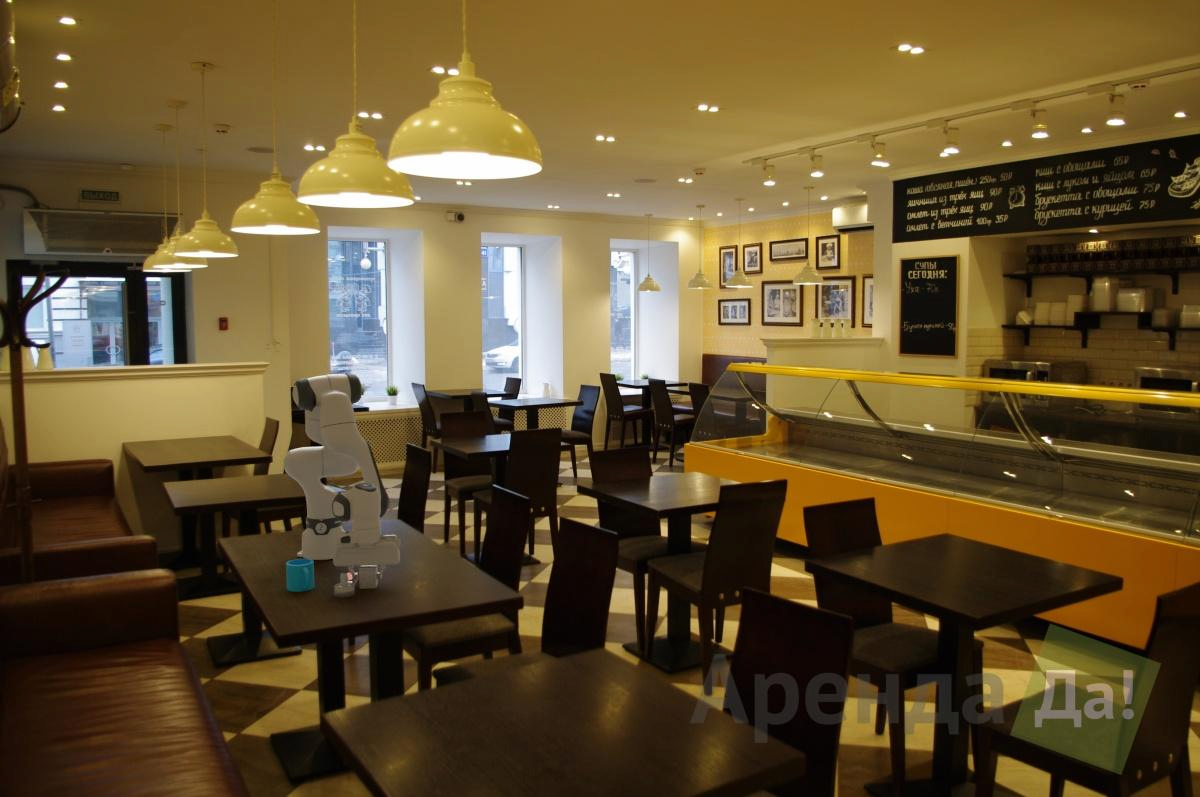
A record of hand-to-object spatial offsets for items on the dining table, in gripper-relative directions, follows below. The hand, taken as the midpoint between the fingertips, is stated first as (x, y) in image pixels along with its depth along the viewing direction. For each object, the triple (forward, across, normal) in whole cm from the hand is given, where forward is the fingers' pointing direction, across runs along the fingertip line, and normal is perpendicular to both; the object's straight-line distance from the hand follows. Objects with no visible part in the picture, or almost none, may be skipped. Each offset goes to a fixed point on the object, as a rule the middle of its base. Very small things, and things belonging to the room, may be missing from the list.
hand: (367, 578), depth 280 cm
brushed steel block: (+2, 0, 0) cm, 2 cm away
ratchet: (+2, +6, +2) cm, 6 cm away
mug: (+3, +20, 0) cm, 20 cm away
